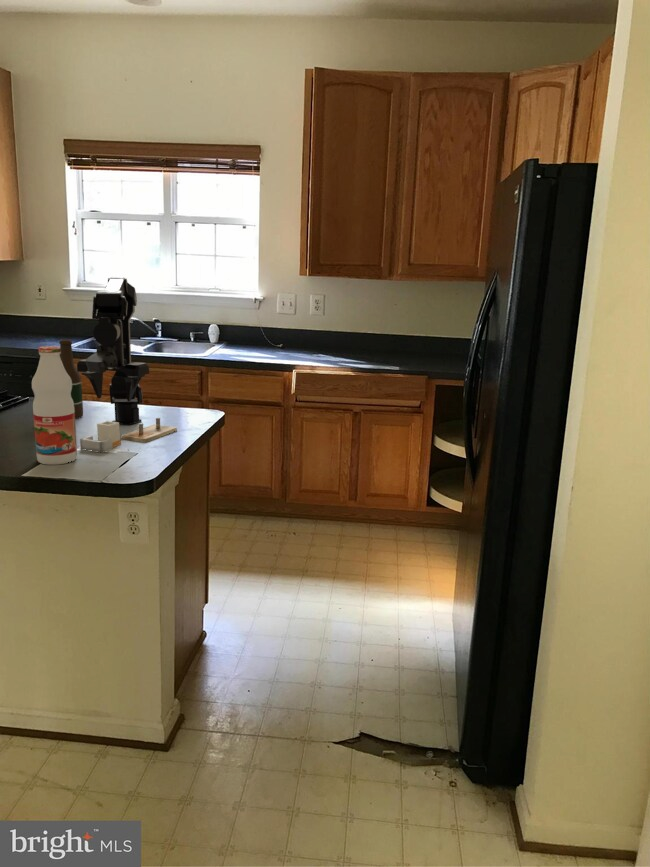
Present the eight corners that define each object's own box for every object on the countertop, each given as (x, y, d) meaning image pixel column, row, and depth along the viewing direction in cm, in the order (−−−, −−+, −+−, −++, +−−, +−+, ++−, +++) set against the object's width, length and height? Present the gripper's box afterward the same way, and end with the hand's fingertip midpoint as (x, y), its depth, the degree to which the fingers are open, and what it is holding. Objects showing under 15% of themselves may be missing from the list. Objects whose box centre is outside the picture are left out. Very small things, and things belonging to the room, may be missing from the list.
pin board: (121, 439, 192) (121, 425, 191) (154, 427, 206) (153, 414, 205) (145, 442, 189) (145, 428, 188) (176, 430, 203) (176, 417, 202)
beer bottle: (88, 416, 218) (84, 339, 212) (68, 420, 211) (62, 342, 205) (72, 412, 222) (67, 337, 216) (51, 416, 215) (46, 339, 209)
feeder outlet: (80, 449, 181) (80, 439, 180) (91, 445, 185) (90, 435, 184) (102, 452, 178) (101, 442, 178) (112, 449, 182) (111, 438, 181)
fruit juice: (83, 455, 176) (77, 345, 169) (67, 466, 166) (59, 350, 160) (48, 453, 176) (40, 344, 169) (29, 464, 167) (20, 348, 160)
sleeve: (97, 445, 185) (96, 423, 183) (107, 442, 189) (106, 420, 187) (110, 447, 183) (109, 425, 182) (120, 444, 187) (119, 422, 186)
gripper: (60, 341, 175) (64, 402, 179) (124, 346, 170) (127, 408, 174) (88, 337, 186) (91, 394, 189) (149, 341, 180) (151, 400, 184)
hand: (114, 399), depth 184 cm, fingers open, 9 cm apart
